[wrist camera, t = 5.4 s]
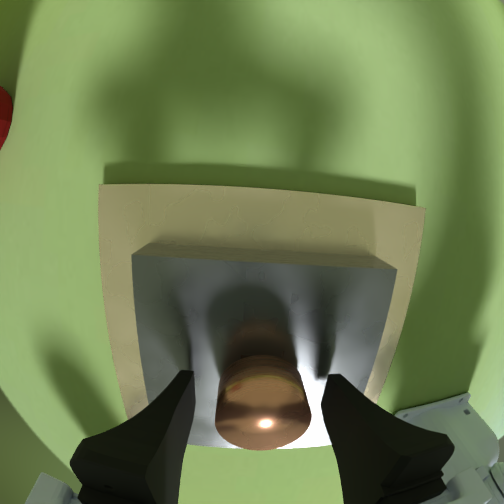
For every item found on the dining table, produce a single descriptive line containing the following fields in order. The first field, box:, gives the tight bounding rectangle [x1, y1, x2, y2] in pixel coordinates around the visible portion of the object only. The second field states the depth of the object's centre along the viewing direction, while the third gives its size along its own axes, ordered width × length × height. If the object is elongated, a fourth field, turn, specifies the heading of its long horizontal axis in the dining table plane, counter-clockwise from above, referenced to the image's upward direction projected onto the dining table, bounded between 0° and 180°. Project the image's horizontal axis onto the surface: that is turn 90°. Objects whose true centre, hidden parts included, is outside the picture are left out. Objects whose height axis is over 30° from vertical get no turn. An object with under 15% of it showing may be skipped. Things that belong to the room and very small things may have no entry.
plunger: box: [215, 355, 312, 450], centre depth 13 cm, size 4×4×6 cm
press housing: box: [98, 184, 426, 448], centre depth 15 cm, size 18×18×4 cm
